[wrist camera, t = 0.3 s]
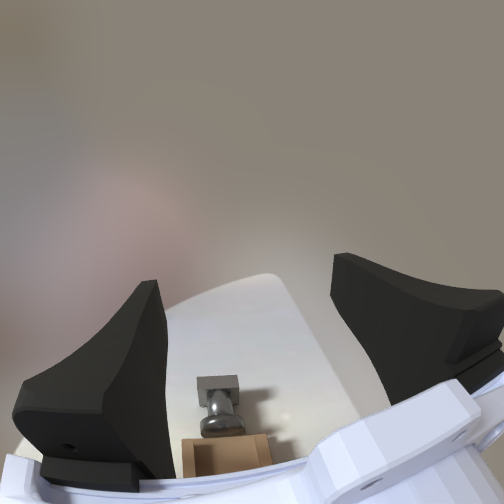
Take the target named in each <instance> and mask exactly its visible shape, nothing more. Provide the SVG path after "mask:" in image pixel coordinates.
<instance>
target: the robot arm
mask: <svg viewBox="0 0 504 504" xmlns="http://www.w3.org/2000/svg"><path fill="white" fill-rule="evenodd" d="M330 296H331V298H332V300H333V302H334V305H335V307H336V308H337V310H338V312H339V314H340V315H341V317H342V318H343V320H344V321H345V323H346V324H347V326H348V327H349V328H350V330H351V331H352V333H353V334H354V335H355V337H356V338H357V340H358V341H359V342H360V344H361V345H362V347H363V348H364V350H365V351H366V353H367V355H368V356H369V358H370V360H371V362H372V364H373V366H374V367H375V369H376V371H377V373H378V375H379V377H380V380H381V382H382V384H383V386H384V389H385V391H386V393H387V396H388V398H389V401H390V403H391V407H388V408H386V409H384V410H381V411H378V412H376V413H374V414H371V415H368V416H366V417H363V418H360V419H358V420H356V421H354V422H352V423H350V424H347V425H345V426H343V427H341V428H339V429H337V430H336V431H334V432H333V433H331V434H330V435H328V436H327V437H325V438H324V439H322V440H321V441H320V442H319V443H318V444H317V445H316V447H315V448H314V449H313V451H312V452H311V453H310V455H309V456H307V457H303V458H299V459H296V460H292V461H288V462H284V463H280V464H275V465H271V466H266V467H261V468H256V469H251V470H245V471H240V472H233V473H227V474H220V475H212V476H203V477H193V478H179V479H176V474H175V469H174V464H173V458H172V452H171V445H170V438H169V430H168V422H167V411H166V399H165V385H166V368H167V352H168V331H167V320H166V316H165V312H164V308H163V304H162V300H161V296H160V291H159V287H158V283H157V280H149V281H142V282H141V283H140V284H139V285H138V286H137V288H136V289H135V290H134V292H133V293H132V295H131V296H130V297H129V298H128V299H127V301H126V302H125V303H124V304H123V306H122V307H121V308H120V309H119V311H118V312H117V313H116V314H115V315H114V316H113V317H112V318H111V319H110V321H109V322H108V323H107V324H106V325H105V326H104V327H103V328H102V329H101V330H100V331H99V332H98V333H97V334H96V335H95V336H94V337H92V338H91V339H90V340H89V341H88V342H87V343H85V344H84V345H83V346H82V347H80V348H79V349H78V350H76V351H75V352H74V353H73V354H71V355H70V356H68V357H67V358H65V359H64V360H62V361H61V362H60V363H58V364H56V365H54V366H53V367H51V368H49V369H47V370H46V371H44V372H42V373H40V374H38V375H36V376H34V377H32V378H30V379H28V380H25V381H24V382H23V384H22V387H21V389H20V392H19V395H18V398H17V400H16V403H15V406H14V410H13V412H12V419H13V421H14V423H15V425H16V427H17V428H18V430H19V431H20V432H21V434H22V435H23V436H24V437H25V438H26V439H27V440H28V441H29V442H30V443H31V444H32V445H33V446H34V447H35V448H36V449H38V450H39V451H40V452H41V453H42V454H43V460H42V463H40V462H38V461H36V460H34V459H30V458H25V457H21V456H16V455H12V454H7V456H6V460H5V464H4V469H3V474H2V479H1V485H0V504H504V489H503V488H502V486H501V485H500V483H499V481H498V480H497V478H496V477H495V475H494V474H493V473H492V471H491V469H490V468H489V466H488V465H487V464H486V462H485V461H484V459H483V458H482V456H481V455H480V453H482V452H483V451H484V450H485V449H486V448H487V447H488V446H489V445H491V444H492V443H493V442H494V441H495V440H496V439H498V438H499V437H500V436H501V435H502V434H503V433H504V353H503V352H502V351H501V350H500V348H501V347H502V343H501V342H500V341H499V340H498V337H499V335H500V333H501V331H502V329H503V327H504V294H503V293H502V292H501V291H499V290H476V289H466V288H457V287H451V286H445V285H440V284H436V283H431V282H428V281H424V280H420V279H417V278H414V277H411V276H408V275H405V274H402V273H399V272H397V271H394V270H391V269H389V268H386V267H384V266H381V265H379V264H377V263H374V262H372V261H369V260H367V259H365V258H362V257H359V256H357V255H354V254H350V253H341V254H334V263H333V273H332V283H331V292H330Z"/></svg>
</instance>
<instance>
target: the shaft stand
mask: <svg viewBox="0 0 504 504" xmlns="http://www.w3.org/2000/svg"><path fill="white" fill-rule="evenodd" d="M197 390H198V397H199V404H200V407H202V406H207V409H208V417H206V418H204V419H203V420H202V421H201V422H200V429H201V436H202V437H203V438H202V439H182V460H183V477H184V478H193V477H203V476H212V475H220V474H227V473H233V472H240V471H245V470H251V469H256V468H261V467H266V466H271V465H273V462H272V457H271V453H270V449H269V445H268V440H267V436H266V434H255V435H246V436H243V435H244V433H245V426H244V421H243V419H242V418H241V417H240V416H238V415H234V412H233V406H232V405H236V404H238V403H239V383H238V377H237V375H226V376H207V377H197Z"/></svg>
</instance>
